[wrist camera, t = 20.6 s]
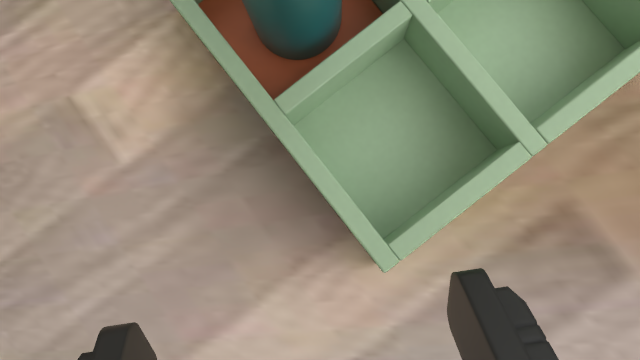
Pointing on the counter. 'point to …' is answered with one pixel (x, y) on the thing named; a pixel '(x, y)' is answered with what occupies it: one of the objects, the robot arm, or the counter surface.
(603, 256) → the counter surface
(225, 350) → the counter surface
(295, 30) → the teal cream-capped cylinder
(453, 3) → the grid
